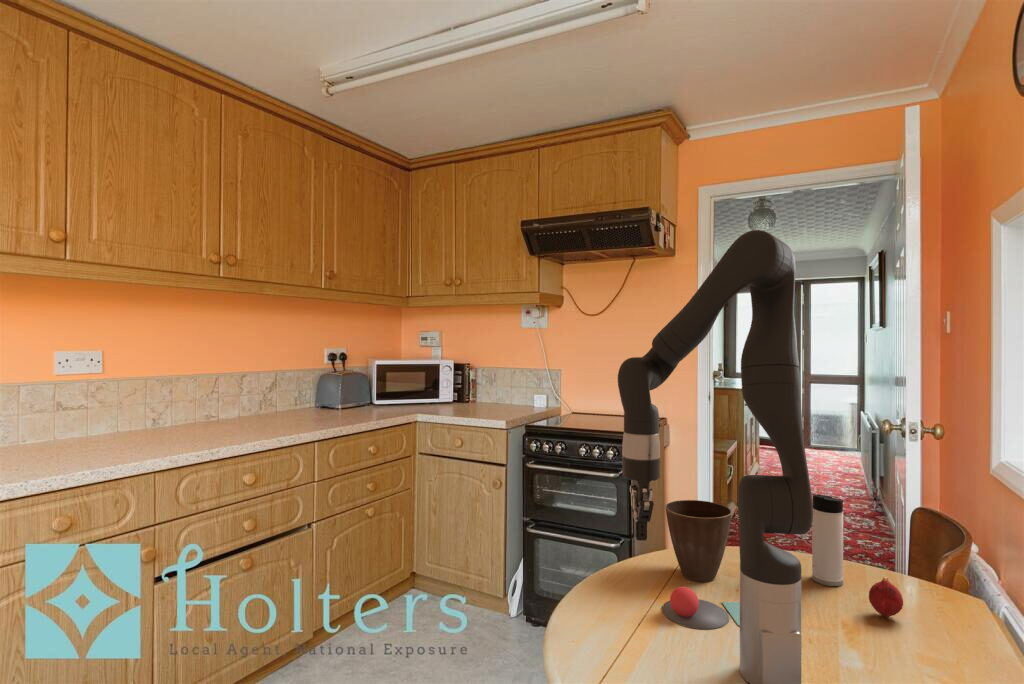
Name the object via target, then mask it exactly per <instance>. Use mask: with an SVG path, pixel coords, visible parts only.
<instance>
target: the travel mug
mask: <svg viewBox="0 0 1024 684" xmlns="http://www.w3.org/2000/svg"><path fill="white" fill-rule="evenodd" d="M812 503H813V521H812V525H811V529H812V532H811V535H812V538H811V539H812V540H811V541H812V543H811V544H812V545H811V548H812V550H811V552H812V553H811V555H812V557H811V558H812V559H811V560H812V561H811V562H812V563H811V565H812V566H811V567H812V569H811V571H812V573H811V576H812V577H811V578H812V580H813V581H814V582H815V581H816V582H815V583H817V582H818V583H817V584H819V583H820V584H819V585H822V584H823V585H822V586H825V585H827V586H826V587H831V586H838V587H842V585H844V500H843V499H841V498H834V497H833V496H830V495H825V494H816V493H814V494H812Z"/></svg>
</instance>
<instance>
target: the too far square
mask: <svg viewBox="0 0 1024 684" xmlns="http://www.w3.org/2000/svg"><path fill="white" fill-rule="evenodd" d="M721 604H722V605H723V606H724V608H725V609H726V612H727V613H728V615H730V616H731V618H732V619H733V620H734V622H735V623H736V624H737V626H738V627H740V601H721Z"/></svg>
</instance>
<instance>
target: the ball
mask: <svg viewBox="0 0 1024 684" xmlns="http://www.w3.org/2000/svg"><path fill="white" fill-rule="evenodd" d="M698 599H699V597H698V595H697V593H696V592H695V591H694V590H693V589H691V588H689V587H688V586H679V587H676V588H675V589H673V590H672V592H671V594H670V597H669V600H670V604H671V607H672V609H673V610H674V611H675V613H677V614H678V615H680V616H682V617H690V616H692V615H694V614H695V613H696V612H697V610H698V607H699V600H698Z"/></svg>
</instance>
